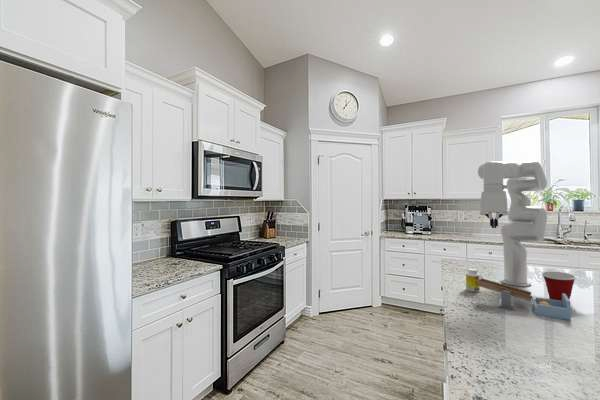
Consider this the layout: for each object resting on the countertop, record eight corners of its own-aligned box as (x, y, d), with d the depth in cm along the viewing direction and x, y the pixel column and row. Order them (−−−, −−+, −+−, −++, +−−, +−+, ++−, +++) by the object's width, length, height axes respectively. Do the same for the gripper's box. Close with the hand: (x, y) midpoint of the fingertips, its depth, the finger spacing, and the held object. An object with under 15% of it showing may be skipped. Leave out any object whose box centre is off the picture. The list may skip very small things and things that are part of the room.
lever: (479, 279, 128) (480, 272, 127) (528, 293, 117) (530, 286, 117) (477, 285, 118) (478, 279, 117) (531, 302, 107) (532, 294, 107)
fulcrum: (499, 300, 120) (498, 284, 120) (513, 302, 117) (513, 286, 117) (498, 308, 112) (498, 290, 112) (514, 310, 109) (513, 292, 109)
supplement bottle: (476, 293, 130) (475, 271, 130) (464, 289, 135) (463, 269, 135) (481, 290, 133) (481, 269, 133) (469, 287, 138) (469, 267, 138)
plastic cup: (536, 299, 120) (535, 272, 120) (551, 296, 124) (550, 269, 124) (567, 308, 110) (566, 278, 110) (582, 304, 114) (582, 275, 114)
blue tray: (532, 306, 113) (531, 289, 113) (565, 311, 107) (565, 293, 107) (534, 314, 105) (534, 296, 105) (570, 320, 99) (570, 301, 99)
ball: (540, 310, 109) (536, 301, 110) (551, 308, 107) (546, 299, 108) (541, 313, 106) (536, 304, 107) (553, 311, 104) (547, 302, 105)
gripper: (513, 187, 126) (514, 227, 126) (475, 189, 135) (475, 226, 135) (513, 187, 120) (514, 229, 120) (473, 188, 129) (474, 227, 129)
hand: (494, 227), depth 127 cm, fingers closed
